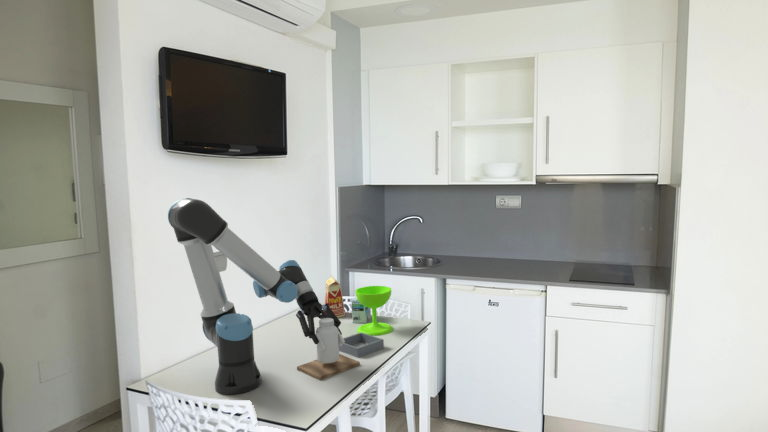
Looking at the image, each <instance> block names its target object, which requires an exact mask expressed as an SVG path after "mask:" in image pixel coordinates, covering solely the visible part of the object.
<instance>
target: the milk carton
mask: <svg viewBox="0 0 768 432" xmlns="http://www.w3.org/2000/svg"><path fill="white" fill-rule="evenodd" d="M324 295H325V299H324V305H325V304H326V303H328V304H329V307H330V309H331V310H332V311H333V313H334V314H335V315H336V316H337V318H338V319H339V318H341V317H345V316H346V314H345V313H346V311H345V305H344V299H343V292H342V288H341V285H340V283H339V282H338V280H337V279H336V278H335V277H334V276H333V274H330V277H329V278H328V279H327V280H325V294H324ZM325 314H326V313H325Z"/></svg>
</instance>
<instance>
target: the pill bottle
mask: <svg viewBox="0 0 768 432" xmlns="http://www.w3.org/2000/svg"><path fill="white" fill-rule="evenodd" d="M318 323H319V326H318V327H317V328H316V329H315V334H316V333H318V335H319V336H320V338H321V340H322V342H323V344H324V345H325V347H326V349H325V350H324V352H322V353H321V351H320V349H319V347H318V346H317V345H316V357H317V358H316V360H318V362H320V363H333V362H336V361H338V359H339V354H340V351H339V344H338V329H337V327H336V326H334V319H332V318H323V319H319V321H318Z"/></svg>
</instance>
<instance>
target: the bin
mask: <svg viewBox="0 0 768 432" xmlns="http://www.w3.org/2000/svg"><path fill="white" fill-rule="evenodd" d="M343 339H344V341H345V342H344V344H343V345H342V346H340V345H339V352H342V353H344V354H347V355H350V356H352V357H355V358H357V359H358V358H360V357H363V356H366V355H368V354H371V353H374V352H377V351H380V350H382V349H384V348H385V346H384V345H385V344H384V343H385V342H384V339H383V338H380V337H377V336H371V335H368V334H365V333H362V332H361V333H358V332H357V333H355V334H352V335H350V336H346V337H343ZM361 342H362V343H365V344H364V345H362V346H358V347H356V346H354V345H355V344H358V343H361ZM338 344H339V343H338Z"/></svg>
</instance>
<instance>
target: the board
mask: <svg viewBox="0 0 768 432" xmlns="http://www.w3.org/2000/svg"><path fill="white" fill-rule="evenodd" d="M360 365H361V362H360V361H359V360H356V359H354V358H351V357H348V356H346V355H342V354H340V353H339V359H338V361H336V362H333V363H320V362H318V360H317V359H315V360H311V361H309V362H306V363H304V364H299V365H298V366H297V365H296V370H297V371H298V372H301V373H303V374H306V375H308V376H310V377H311V378H314V379H316V380H318V381H322V380H325V379H327V378H331V377H332V376H334V375H339V374H340V373H343V372H345V371H348V370H350V369H353V368H356V367H358V366H360Z"/></svg>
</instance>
